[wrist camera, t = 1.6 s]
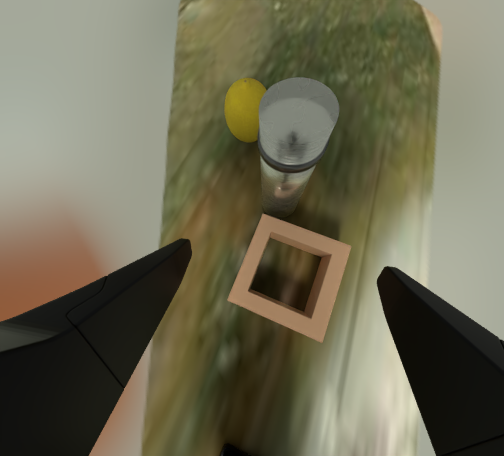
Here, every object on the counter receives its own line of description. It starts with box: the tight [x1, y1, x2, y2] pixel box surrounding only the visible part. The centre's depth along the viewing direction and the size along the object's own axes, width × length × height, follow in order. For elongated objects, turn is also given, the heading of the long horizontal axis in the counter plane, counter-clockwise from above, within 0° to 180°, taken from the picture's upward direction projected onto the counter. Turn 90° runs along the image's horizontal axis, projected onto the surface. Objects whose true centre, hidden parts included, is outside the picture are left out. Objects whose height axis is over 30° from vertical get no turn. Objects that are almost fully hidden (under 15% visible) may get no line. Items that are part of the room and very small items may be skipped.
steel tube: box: [257, 77, 339, 218], centre depth 17 cm, size 5×5×14 cm
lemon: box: [225, 78, 267, 142], centre depth 23 cm, size 6×6×8 cm
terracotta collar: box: [228, 214, 351, 343], centre depth 20 cm, size 9×9×4 cm
